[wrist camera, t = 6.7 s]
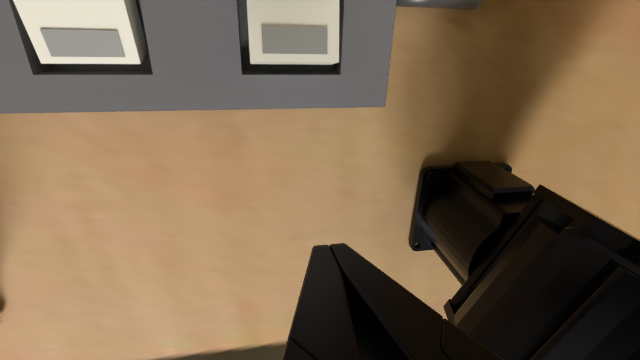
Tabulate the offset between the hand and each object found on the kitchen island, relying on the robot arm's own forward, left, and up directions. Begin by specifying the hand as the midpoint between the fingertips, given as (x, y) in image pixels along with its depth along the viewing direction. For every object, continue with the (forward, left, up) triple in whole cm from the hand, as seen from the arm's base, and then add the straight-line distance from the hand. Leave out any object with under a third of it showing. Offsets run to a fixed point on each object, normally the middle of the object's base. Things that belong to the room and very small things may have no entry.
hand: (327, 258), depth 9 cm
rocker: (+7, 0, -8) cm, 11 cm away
